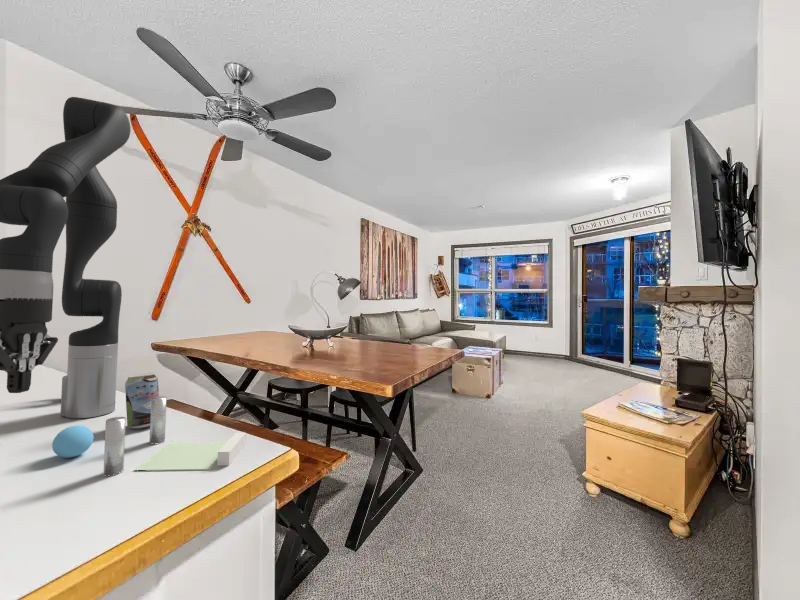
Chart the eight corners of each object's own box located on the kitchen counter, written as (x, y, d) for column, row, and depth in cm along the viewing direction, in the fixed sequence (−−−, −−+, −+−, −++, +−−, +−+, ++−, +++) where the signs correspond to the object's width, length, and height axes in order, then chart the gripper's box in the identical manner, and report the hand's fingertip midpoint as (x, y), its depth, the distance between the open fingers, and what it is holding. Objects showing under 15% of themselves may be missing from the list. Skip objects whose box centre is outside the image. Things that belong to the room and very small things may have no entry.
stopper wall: (217, 465, 62) (217, 451, 62) (235, 444, 70) (235, 432, 71) (228, 465, 62) (229, 451, 62) (245, 444, 71) (245, 432, 71)
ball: (42, 463, 60) (43, 432, 60) (68, 449, 65) (70, 421, 65) (77, 463, 60) (78, 432, 60) (100, 449, 66) (101, 421, 66)
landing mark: (133, 471, 59) (133, 470, 59) (171, 442, 70) (172, 441, 70) (207, 469, 60) (207, 468, 60) (232, 441, 72) (232, 440, 72)
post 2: (146, 444, 69) (148, 399, 69) (154, 439, 72) (156, 396, 72) (160, 444, 69) (162, 399, 69) (167, 439, 72) (169, 396, 72)
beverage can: (142, 433, 74) (144, 378, 74) (114, 429, 76) (117, 375, 76) (167, 423, 80) (169, 372, 80) (141, 419, 82) (143, 369, 82)
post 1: (99, 476, 56) (101, 422, 56) (110, 468, 59) (113, 416, 59) (116, 476, 57) (118, 422, 57) (127, 468, 59) (129, 416, 59)
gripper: (34, 296, 68) (29, 383, 68) (-43, 294, 55) (-49, 402, 55) (76, 297, 69) (72, 383, 69) (10, 296, 56) (4, 402, 56)
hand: (18, 391), depth 62 cm, fingers closed
